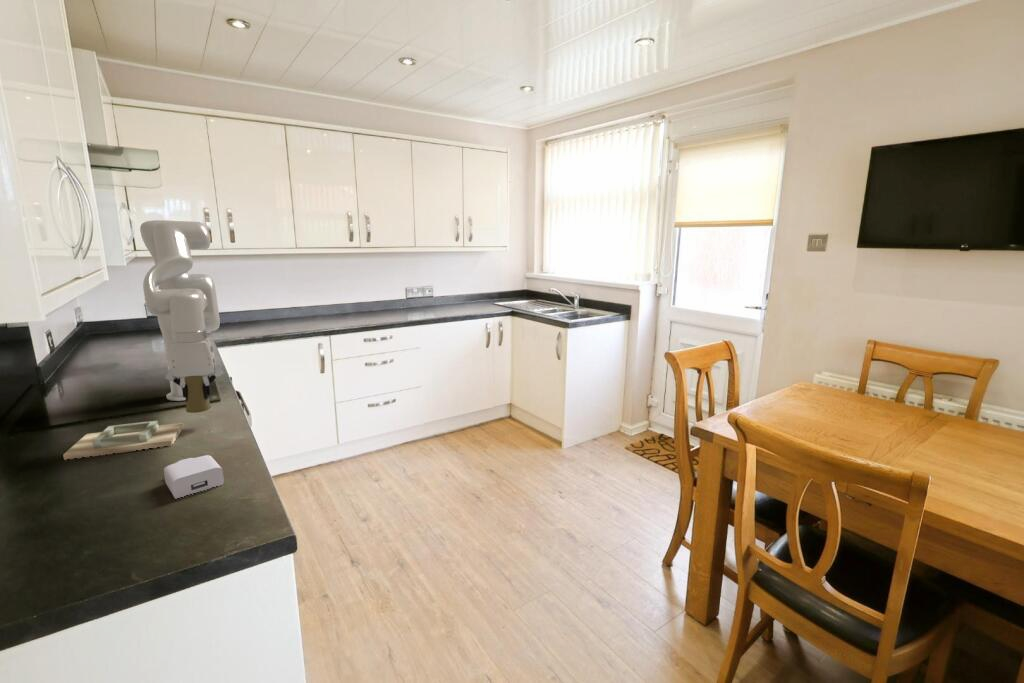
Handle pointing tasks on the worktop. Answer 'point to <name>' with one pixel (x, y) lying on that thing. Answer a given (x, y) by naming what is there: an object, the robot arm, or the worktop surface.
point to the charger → (193, 475)
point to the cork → (196, 395)
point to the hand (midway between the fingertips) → (197, 397)
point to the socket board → (125, 439)
